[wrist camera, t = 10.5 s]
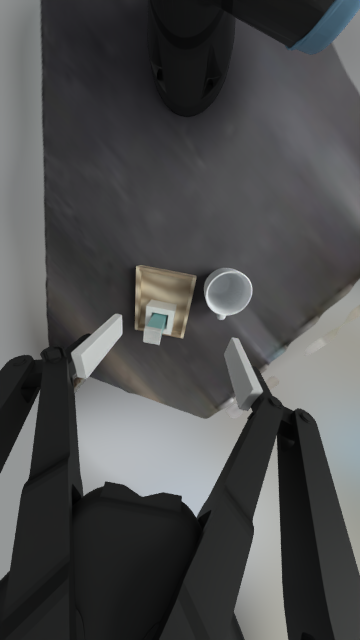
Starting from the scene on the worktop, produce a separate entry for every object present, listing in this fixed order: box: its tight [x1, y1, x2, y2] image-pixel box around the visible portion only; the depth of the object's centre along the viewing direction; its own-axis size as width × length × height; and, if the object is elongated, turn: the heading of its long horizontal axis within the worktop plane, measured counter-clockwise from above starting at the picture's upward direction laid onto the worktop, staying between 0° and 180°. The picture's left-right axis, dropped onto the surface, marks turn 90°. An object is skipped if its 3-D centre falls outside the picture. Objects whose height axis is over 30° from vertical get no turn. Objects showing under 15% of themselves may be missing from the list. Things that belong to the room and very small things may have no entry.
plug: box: [143, 313, 167, 345], centre depth 42 cm, size 4×4×12 cm
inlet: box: [145, 300, 177, 335], centre depth 47 cm, size 9×9×6 cm
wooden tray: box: [135, 265, 196, 338], centre depth 47 cm, size 22×18×4 cm
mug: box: [204, 268, 252, 320], centre depth 40 cm, size 15×11×13 cm
